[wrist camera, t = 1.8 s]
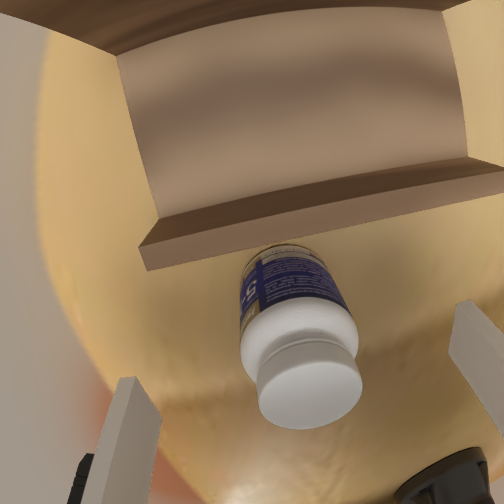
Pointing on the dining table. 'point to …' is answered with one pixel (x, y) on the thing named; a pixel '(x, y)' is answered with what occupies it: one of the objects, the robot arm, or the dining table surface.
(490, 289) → the dining table surface
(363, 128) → the wooden display stand
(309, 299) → the pill bottle
